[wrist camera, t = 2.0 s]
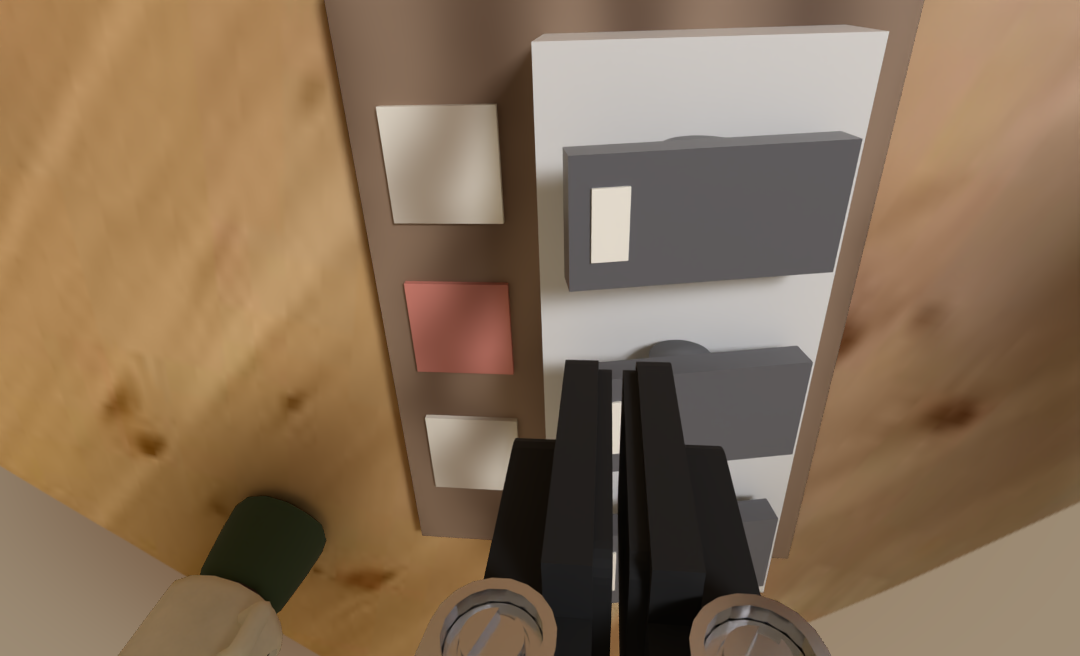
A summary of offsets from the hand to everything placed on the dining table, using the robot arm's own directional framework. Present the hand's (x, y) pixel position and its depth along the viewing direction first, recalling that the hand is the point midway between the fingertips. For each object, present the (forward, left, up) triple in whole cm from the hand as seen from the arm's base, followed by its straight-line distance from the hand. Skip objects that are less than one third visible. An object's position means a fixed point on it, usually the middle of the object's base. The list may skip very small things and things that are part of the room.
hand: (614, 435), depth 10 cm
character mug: (+21, +24, -19) cm, 37 cm away
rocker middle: (-2, +8, -13) cm, 16 cm away
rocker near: (-2, 0, -13) cm, 14 cm away
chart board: (0, +8, -19) cm, 20 cm away
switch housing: (-3, +8, -18) cm, 19 cm away
